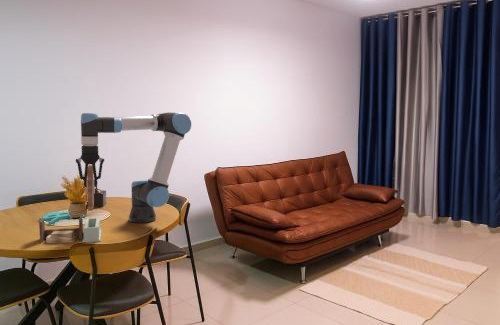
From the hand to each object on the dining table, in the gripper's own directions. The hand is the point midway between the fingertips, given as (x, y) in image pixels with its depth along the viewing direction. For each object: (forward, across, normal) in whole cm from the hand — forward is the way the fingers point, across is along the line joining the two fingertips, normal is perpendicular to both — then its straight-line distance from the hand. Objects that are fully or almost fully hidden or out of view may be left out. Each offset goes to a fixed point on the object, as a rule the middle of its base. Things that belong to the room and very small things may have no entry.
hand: (90, 193), depth 195 cm
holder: (+22, 0, 0) cm, 22 cm away
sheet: (+7, 0, 0) cm, 7 cm away
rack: (+22, +13, 0) cm, 25 cm away
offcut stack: (+22, +13, +4) cm, 26 cm away
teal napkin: (+22, +19, -41) cm, 50 cm away
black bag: (+22, +1, -68) cm, 72 cm away
